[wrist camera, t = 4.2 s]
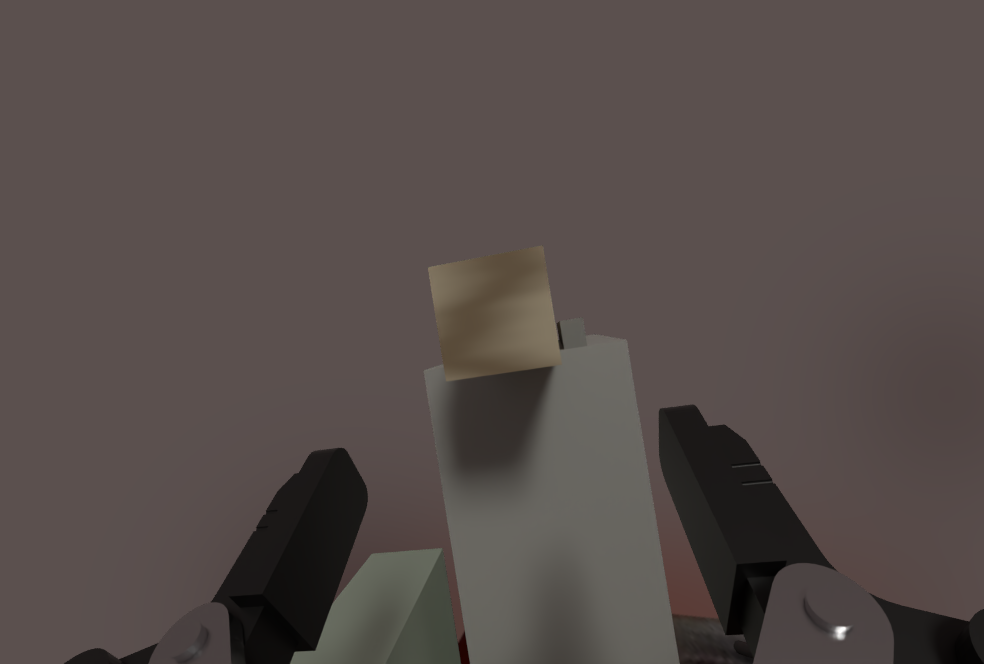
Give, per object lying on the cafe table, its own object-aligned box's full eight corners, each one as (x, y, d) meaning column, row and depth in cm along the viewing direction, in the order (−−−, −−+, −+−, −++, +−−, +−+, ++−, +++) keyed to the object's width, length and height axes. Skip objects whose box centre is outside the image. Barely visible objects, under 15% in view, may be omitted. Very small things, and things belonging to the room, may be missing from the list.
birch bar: (556, 340, 36) (549, 296, 36) (562, 364, 13) (542, 245, 13) (512, 347, 37) (505, 304, 37) (446, 381, 14) (427, 267, 14)
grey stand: (654, 694, 35) (592, 317, 35) (728, 963, 20) (621, 311, 21) (530, 697, 37) (472, 337, 37) (515, 947, 22) (419, 344, 22)
